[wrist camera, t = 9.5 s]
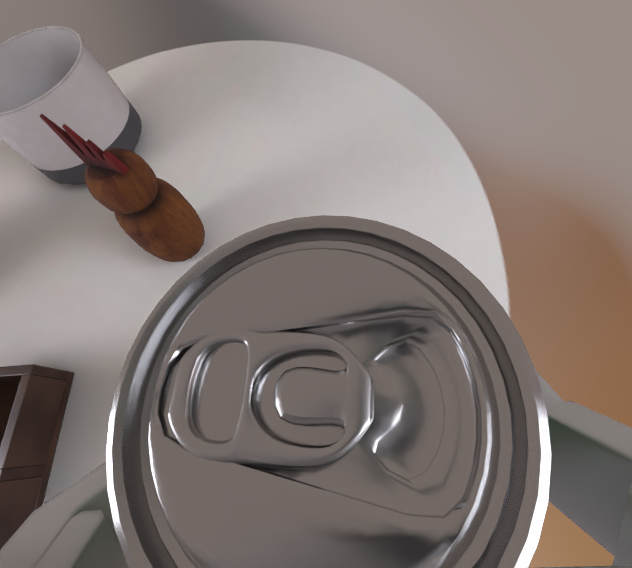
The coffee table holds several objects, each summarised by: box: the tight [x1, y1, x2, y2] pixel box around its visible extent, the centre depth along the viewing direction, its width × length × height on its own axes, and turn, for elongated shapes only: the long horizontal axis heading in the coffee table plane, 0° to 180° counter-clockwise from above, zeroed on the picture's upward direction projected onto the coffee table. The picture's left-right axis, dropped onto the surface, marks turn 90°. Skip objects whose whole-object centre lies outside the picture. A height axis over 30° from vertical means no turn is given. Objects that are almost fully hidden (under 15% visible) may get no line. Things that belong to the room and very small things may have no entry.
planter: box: [0, 26, 141, 184], centre depth 38 cm, size 13×13×10 cm
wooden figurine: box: [40, 114, 205, 262], centre depth 28 cm, size 7×6×15 cm
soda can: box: [106, 216, 551, 568], centre depth 9 cm, size 5×5×12 cm
